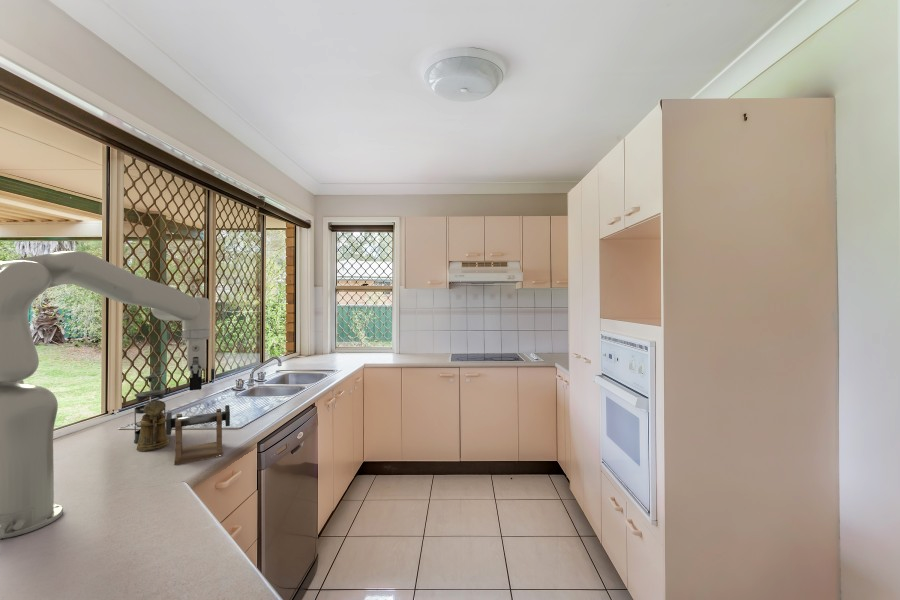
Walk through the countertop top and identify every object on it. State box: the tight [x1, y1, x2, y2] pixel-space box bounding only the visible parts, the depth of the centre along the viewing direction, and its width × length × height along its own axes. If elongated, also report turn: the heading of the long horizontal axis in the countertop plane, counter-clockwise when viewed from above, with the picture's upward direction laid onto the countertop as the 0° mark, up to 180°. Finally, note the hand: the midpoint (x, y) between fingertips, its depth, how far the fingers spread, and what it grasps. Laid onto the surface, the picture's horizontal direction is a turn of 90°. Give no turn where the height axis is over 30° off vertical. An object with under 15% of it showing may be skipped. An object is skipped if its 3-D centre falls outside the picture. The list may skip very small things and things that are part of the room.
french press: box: [133, 375, 166, 445], centre depth 143 cm, size 12×9×23 cm
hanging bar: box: [165, 404, 231, 436], centre depth 129 cm, size 5×17×5 cm, turn 122°
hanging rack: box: [173, 408, 224, 466], centre depth 129 cm, size 12×13×13 cm
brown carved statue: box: [136, 399, 170, 452], centre depth 134 cm, size 9×14×18 cm, turn 41°
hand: (195, 386), depth 128 cm, fingers open, 9 cm apart
